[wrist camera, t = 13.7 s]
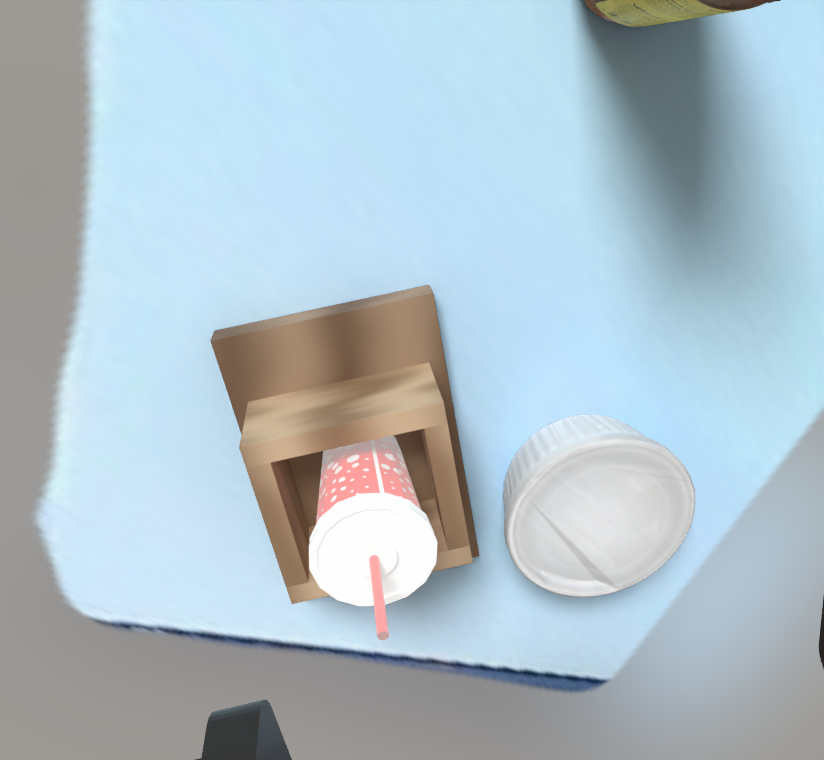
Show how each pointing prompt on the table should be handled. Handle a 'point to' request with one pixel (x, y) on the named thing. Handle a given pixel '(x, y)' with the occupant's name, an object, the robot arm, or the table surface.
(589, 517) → the ramekin
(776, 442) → the table surface
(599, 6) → the sauce bottle
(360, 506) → the beverage cup
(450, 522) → the cup holder
